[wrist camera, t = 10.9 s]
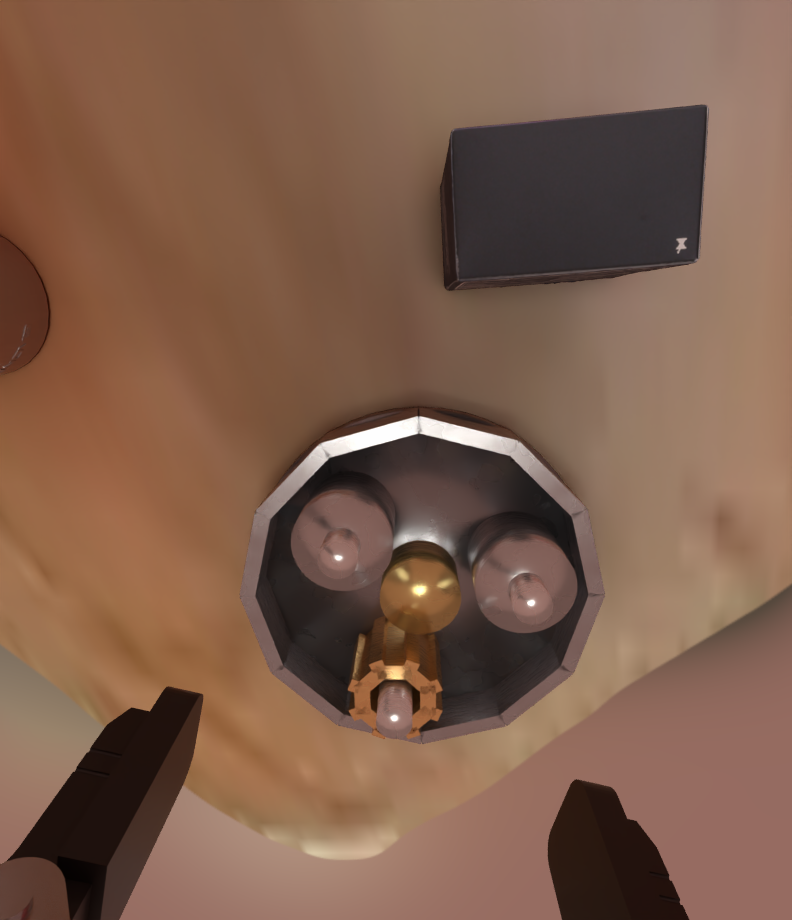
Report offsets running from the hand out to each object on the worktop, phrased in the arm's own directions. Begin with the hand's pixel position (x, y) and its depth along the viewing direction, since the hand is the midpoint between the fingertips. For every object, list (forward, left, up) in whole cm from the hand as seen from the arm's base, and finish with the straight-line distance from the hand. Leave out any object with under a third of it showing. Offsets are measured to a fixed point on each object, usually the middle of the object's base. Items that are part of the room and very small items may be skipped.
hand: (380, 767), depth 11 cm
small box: (-4, +15, -26) cm, 31 cm away
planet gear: (+10, -11, -25) cm, 29 cm away
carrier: (+7, -5, -26) cm, 27 cm away
